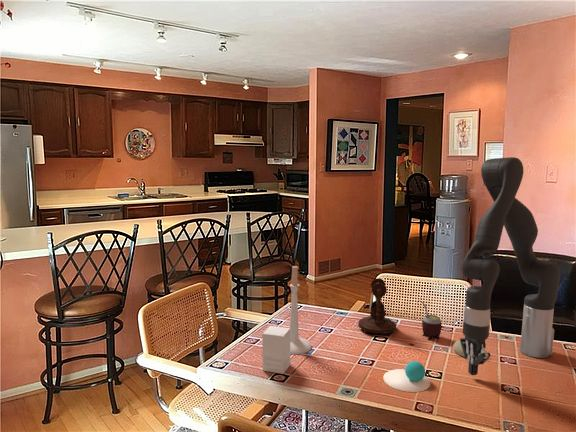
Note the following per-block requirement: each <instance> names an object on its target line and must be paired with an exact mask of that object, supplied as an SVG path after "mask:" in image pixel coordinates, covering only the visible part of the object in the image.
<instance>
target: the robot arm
mask: <svg viewBox="0 0 576 432" xmlns="http://www.w3.org/2000/svg"><path fill="white" fill-rule="evenodd" d="M480 173H481V178H482V181H483V184H484V186H485V188H486V189H487V192H488V194H489V195H490V197H491V200H493V203H492V204H491V206H489V207H488V209H487V210H486V211H485V212H484V214H483V215H482V217H481V218H480V220H479V223H478V225H477V228H476V234H475V237H474V241H473V243H472V245H471V247H470V248H469V250H468V252H467V254H466V255H465V257H464V258H463V261H462V264H461V273H462V275H463V276H464V277H465V278H467V279H472V280H476V281H481V282H483V283H482V285H473V286H469V287H468V288H467V289H466V293H465V304H464V305H465V306H464V311H463V319H462V320H463V323H462V334H463V335H464V337H462V338H459V340H460V342H461V346H462V349H463V352H464V356H465V357H464V356H463V357H464V358H466V359H467V362H468V368H467V369H468V374H469V375H471V376H477V375H478V372H479V365H484V364H485V363H486V362H487V361H488V359H489V358H490V357H491V352H487V350H486V346H487V344H486V340H487V339H488V338H489V337H490V326H491V325H490V324H491V302H492V299H491V298H492V293H493V290H494V287H495V284H496V282H497V280H498V277H499V275H500V271H501V269H500V264H499V262H498V261H497V260H496V259H494V258H487V257H482V255H483V254H485V253H492V252H496V251H498V249H499V246H500V242H501V239H502V234H503V229H505V231H506V233H507V236H508V238H509V240H510V243H511V246H512V249H513V251H514V254H515V257H516V261H517V264H518V269H519V273H520V275H521V278H522V280H523V281H524V283H526V284H528V285H531V286H534V287H537V288H538V291H537V293H531V294H527V295H526V296H525V297H524V301H523V310H522V311H523V312H522V323H521V325H522V326H521V335H520V347H519V350H520V352H521V353H522V354H524V355H526V356H529V357H532V358H538V359H546V358H548V357H550V356H552V355H553V350H554V349H553V347H554V337H555V329H554V327H553V323H554V320H553V319H554V310H555V304H556V301H557V299H558V292H559V286H560V279H561V271H560V267H559V266H558V264H556V263H554V262H550V261H545V260H541V259H538V258H537V256H536V254H535V251H534V248H533V246H534V244H535V242H536V239H537V237H538V234H539V229H538V225H537V223H536V220H535V216H534V214H533V213H532V211H531V210H530V209H529V208H528V207H527V206H526V205H525V204H523V202H522V201H520V200H519V199H518V198H516V196H517V193H518V191H519V189H520V187H521V183H522V180H523V178H524V177H523V176H524V165H523V162H522V160H520V158H517V157H515V156H514V157H512V156H511V157H498V158H497V157H496V158H490V159H486V160H485V161H483V163H482V165H481V168H480Z"/></svg>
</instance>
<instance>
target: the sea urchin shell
mask: <svg viewBox="0 0 576 432" xmlns="http://www.w3.org/2000/svg"><path fill="white" fill-rule="evenodd" d="M452 348H453V351H454V352H455V353H456V354H458V355H459V356H462V357H463V358H466V357H465V356H464V352H463V349H462V346H461V342H460V339H458V340H456V341H455V342H454V343H453V346H452Z"/></svg>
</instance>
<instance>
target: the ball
mask: <svg viewBox="0 0 576 432" xmlns="http://www.w3.org/2000/svg"><path fill="white" fill-rule="evenodd" d="M404 369H405V373H406V376H407V377H408V378H409V379H410V380H412V381H420V380H422V379H423V378H424V376H426V368H425V367H424V364H422V363H421V362H420V361H418V360H412V361H409V362H408V363H407V364H406V366H405V368H404Z"/></svg>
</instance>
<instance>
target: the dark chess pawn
mask: <svg viewBox="0 0 576 432" xmlns="http://www.w3.org/2000/svg"><path fill="white" fill-rule="evenodd" d="M370 287H371V294H370V300H369V301H370V302H369V316H365V317H364V316H363V317H362V318H360V319H359V320H358V324H357V326H358V327H359V328H360V329H362V330H363V334H367V332H368V333H374V334H388V335H389V336H391V335H392V333H393V332H394V331H396V330H397V324H396V322H395V321H394V320H392V319H391V318H388V317H386V313H387V312H386V310H385V304H384V303H383V302H382V299H383V297H385V296H386V294H387V287H386V282H385V280H384V279H382V278H379V277H378V278H374V279H373V280H371V284H370ZM374 297H375V300H374V301H373V298H374Z"/></svg>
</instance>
